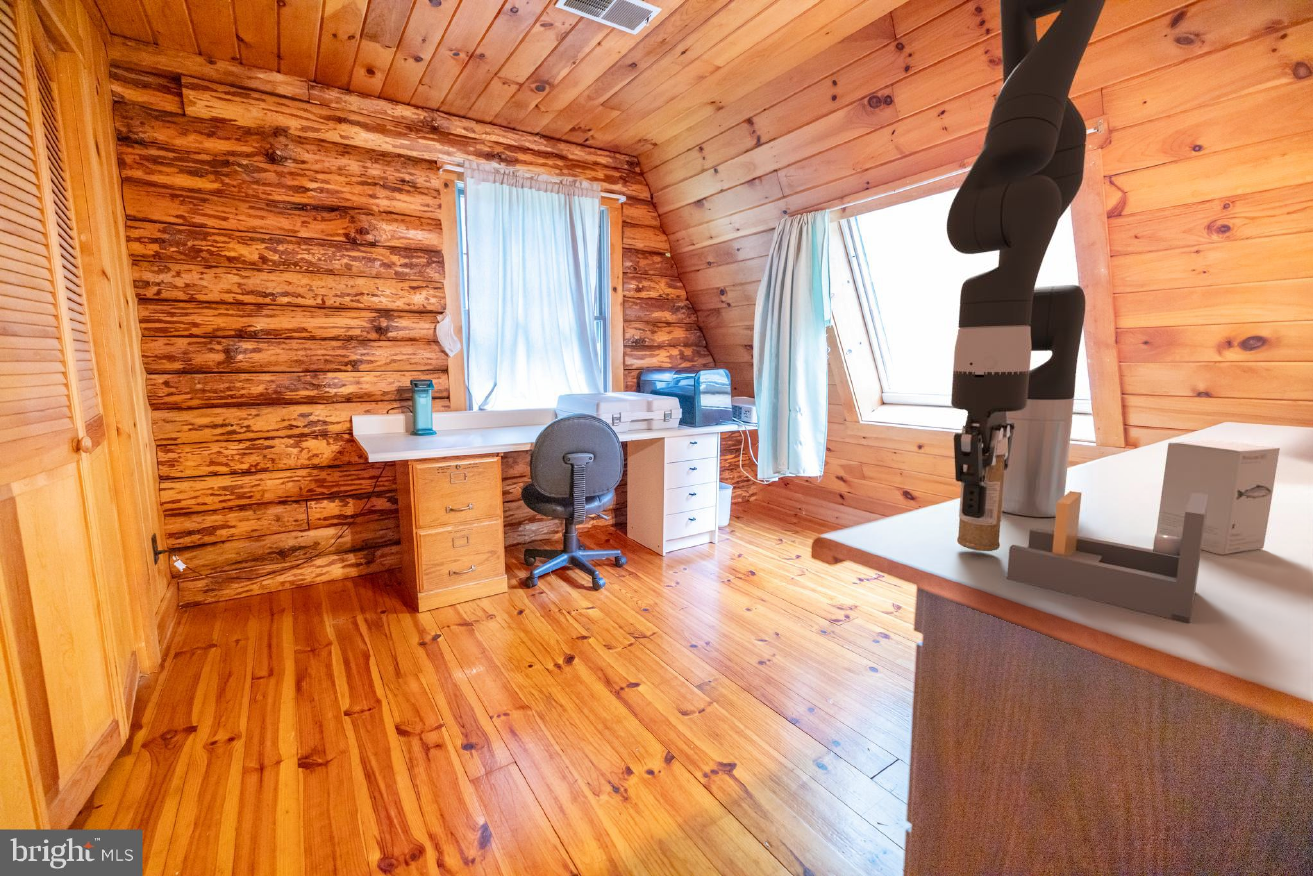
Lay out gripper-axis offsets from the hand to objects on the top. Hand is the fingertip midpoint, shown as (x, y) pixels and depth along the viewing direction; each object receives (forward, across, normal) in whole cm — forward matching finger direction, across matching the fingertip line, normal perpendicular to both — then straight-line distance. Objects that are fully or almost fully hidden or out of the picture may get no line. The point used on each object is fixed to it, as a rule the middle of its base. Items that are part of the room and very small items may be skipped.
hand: (979, 511), depth 66 cm
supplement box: (+6, -24, +19) cm, 31 cm away
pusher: (+4, +1, +10) cm, 11 cm away
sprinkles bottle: (+5, 0, 0) cm, 5 cm away
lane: (+5, +1, +11) cm, 12 cm away
